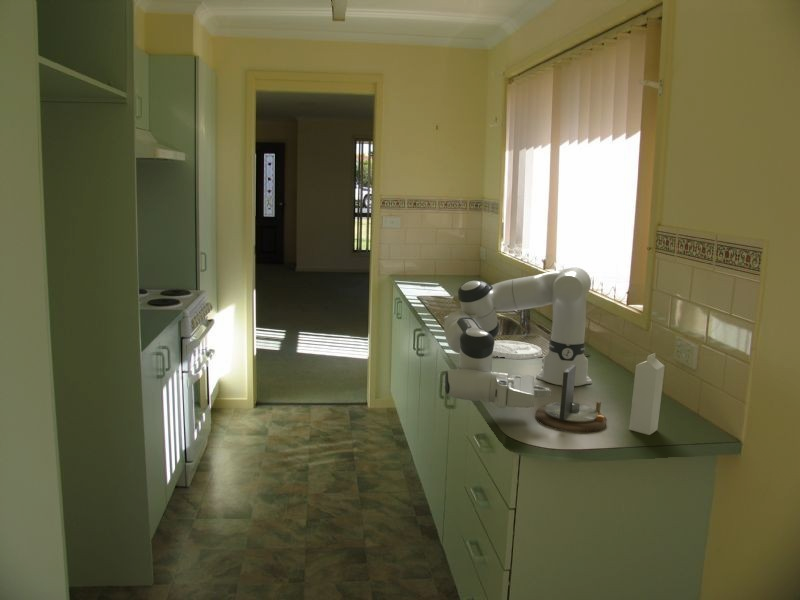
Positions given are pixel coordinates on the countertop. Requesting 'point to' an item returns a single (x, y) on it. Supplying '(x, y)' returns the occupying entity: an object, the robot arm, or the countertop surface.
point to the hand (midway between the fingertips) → (550, 392)
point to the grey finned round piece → (571, 403)
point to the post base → (571, 427)
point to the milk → (647, 396)
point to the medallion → (516, 350)
